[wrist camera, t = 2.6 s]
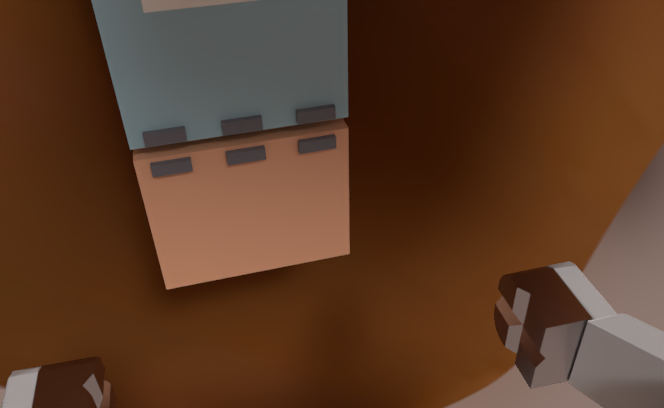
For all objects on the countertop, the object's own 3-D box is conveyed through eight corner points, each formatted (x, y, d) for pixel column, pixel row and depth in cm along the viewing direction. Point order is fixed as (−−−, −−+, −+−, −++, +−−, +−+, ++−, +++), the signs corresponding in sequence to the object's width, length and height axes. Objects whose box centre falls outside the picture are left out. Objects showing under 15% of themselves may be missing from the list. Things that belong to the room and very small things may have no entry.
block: (159, 184, 20) (166, 293, 16) (132, 70, 18) (133, 165, 14) (309, 160, 21) (351, 257, 17) (302, 48, 19) (350, 131, 15)
